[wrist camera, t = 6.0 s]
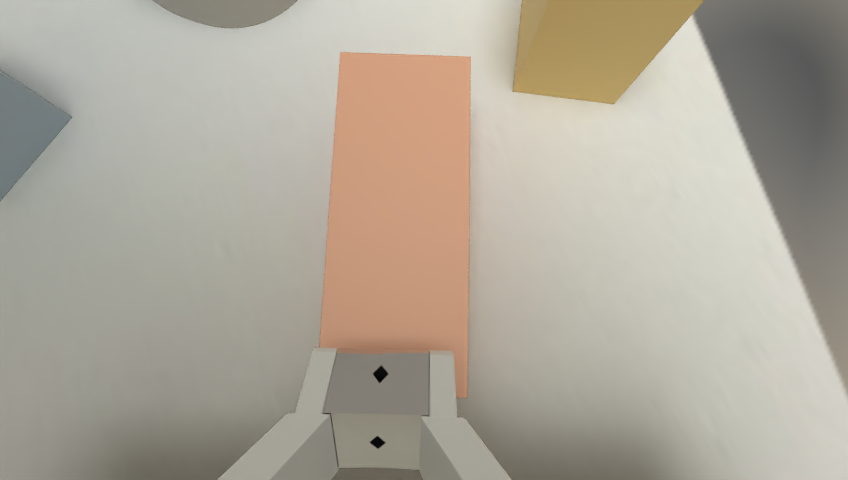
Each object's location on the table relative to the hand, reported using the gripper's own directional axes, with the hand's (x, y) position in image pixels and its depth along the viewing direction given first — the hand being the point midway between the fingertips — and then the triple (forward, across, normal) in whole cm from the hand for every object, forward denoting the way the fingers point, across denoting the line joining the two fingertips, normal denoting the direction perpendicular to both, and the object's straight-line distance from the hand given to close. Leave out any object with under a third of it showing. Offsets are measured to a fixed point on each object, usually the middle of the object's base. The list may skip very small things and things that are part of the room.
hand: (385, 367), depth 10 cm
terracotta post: (+2, 0, +4) cm, 4 cm away
